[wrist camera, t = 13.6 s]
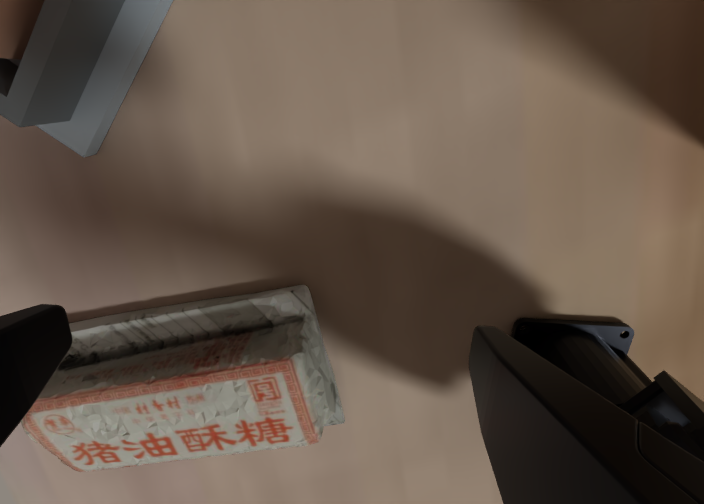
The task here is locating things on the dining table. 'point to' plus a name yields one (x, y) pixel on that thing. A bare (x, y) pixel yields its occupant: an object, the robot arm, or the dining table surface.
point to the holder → (79, 67)
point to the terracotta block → (17, 26)
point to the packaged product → (189, 383)
